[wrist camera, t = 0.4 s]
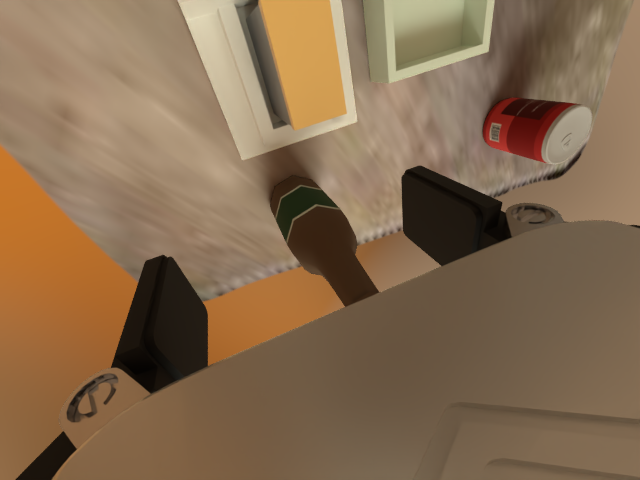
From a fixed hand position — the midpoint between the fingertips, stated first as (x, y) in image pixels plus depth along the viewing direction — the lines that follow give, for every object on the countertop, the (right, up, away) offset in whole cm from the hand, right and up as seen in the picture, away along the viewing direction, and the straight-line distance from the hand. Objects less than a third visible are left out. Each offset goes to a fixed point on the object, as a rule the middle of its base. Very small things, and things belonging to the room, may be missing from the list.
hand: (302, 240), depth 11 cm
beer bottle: (-3, +6, +30) cm, 31 cm away
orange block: (-4, +20, +20) cm, 28 cm away
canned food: (+31, +20, +35) cm, 51 cm away
